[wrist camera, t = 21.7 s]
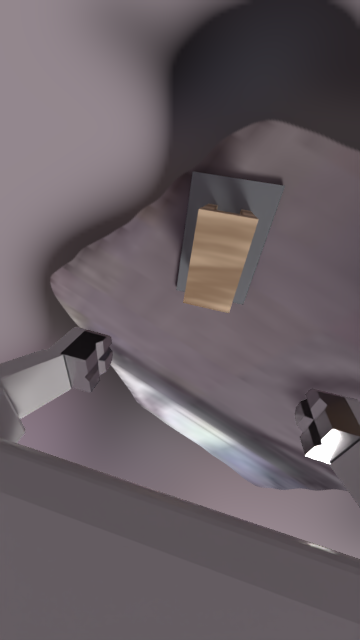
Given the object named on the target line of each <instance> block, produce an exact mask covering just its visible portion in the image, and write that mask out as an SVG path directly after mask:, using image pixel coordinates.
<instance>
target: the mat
mask: <svg viewBox="0 0 360 640" xmlns="http://www.w3.org/2000/svg"><path fill="white" fill-rule="evenodd" d="M284 187H285V186H283V185H276V184H270V183H263V182H257V181H251V180H244V179H238V178H231V177H225V176H219V175H212V174H206V173H200V172H193V173H192V180H191V187H190V194H189V202H188V209H187V216H186V224H185V231H184V238H183V245H182V253H181V260H180V267H179V274H178V282H177V289H176V290H179V291H183V292H185V289H186V283H187V277H188V271H189V265H190V259H191V253H192V247H193V241H194V235H195V229H196V223H197V217H198V211H199V208H201V207H204V206H205V205H207V204H214V205H218V207H217V210H219V211H225V212H231V213H236V214H240V212H241V209H242V210H248V211H251V212H252V213H253V214H254V215H255V216H256V217H257V218H258V219H259V220H258V223H257V226H256V230H255V233H254V236H253V239H252V242H251V245H250V248H249V252H248V255H247V258H246V261H245V264H244V267H243V270H242V274H241V277H240V280H239V283H238V286H237V289H236V292H235V296H234V299H233V303H238V304H242V305H243V303H244V301H245V298H246V295H247V292H248V289H249V286H250V284H251V281H252V278H253V275H254V272H255V269H256V266H257V264H258V261H259V258H260V255H261V252H262V249H263V247H264V244H265V241H266V238H267V235H268V232H269V230H270V227H271V224H272V221H273V218H274V215H275V213H276V210H277V207H278V204H279V201H280V198H281V196H282V193H283V190H284Z"/></svg>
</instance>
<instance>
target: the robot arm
mask: <svg viewBox="0 0 360 640" xmlns="http://www.w3.org/2000/svg"><path fill="white" fill-rule="evenodd" d="M111 344H112V339H111V337H110V336H108V335H105V334H101V333H98V332H94V331H91V330H86V329H83V328H80V327H75V328H73V329H72V330H70V331H69V332H68V333H67V334H66V335H64V336H63V337H62V338H61V339H60V340H59V341H58V342H56V343H55V344H54V345H53V346H51V347H50V349H48V350H41V351H37V352H34V353H31V354H29V355H25V356H22V357H19V358H16V359H13V360H10V361H7V362H4V363H1V364H0V640H360V559H358V558H355V557H352V556H349V555H346V554H343V553H340V552H337V551H334V550H331V549H328V548H326V547H323V546H320V545H316V544H314V543H311V542H308V541H305V540H302V539H299V538H296V537H293V536H290V535H287V534H284V533H281V532H278V531H275V530H272V529H269V528H266V527H263V526H260V525H257V524H254V523H251V522H248V521H245V520H243V519H240V518H237V517H234V516H230V515H227V514H225V513H221V512H219V511H216V510H213V509H210V508H207V507H204V506H201V505H198V504H195V503H192V502H189V501H186V500H183V499H180V498H177V497H174V496H171V495H168V494H165V493H163V492H160V491H156V490H154V489H151V488H148V487H145V486H141V485H139V484H136V483H133V482H130V481H127V480H124V479H121V478H118V477H115V476H112V475H109V474H106V473H103V472H100V471H97V470H94V469H91V468H88V467H85V466H82V465H80V464H77V463H73V462H70V461H68V460H65V459H62V458H59V457H56V456H53V455H50V454H47V453H44V452H41V451H38V450H35V449H32V448H29V447H26V446H23V445H20V444H17V442H18V441H19V440H20V439H21V438H22V436H23V435H24V434H25V428H24V426H23V424H22V422H21V420H20V419H21V418H23V417H25V416H26V415H28V414H30V413H31V412H33V411H35V410H36V409H38V408H40V407H41V406H43V405H45V404H46V403H48V402H50V401H52V400H53V399H55V398H57V397H58V396H60V395H62V394H63V393H65V392H67V391H68V390H70V389H71V388H75V389H78V390H83V391H86V392H90V393H91V392H92V390H93V389H94V388H95V386H96V385H97V384H98V382H99V381H100V374H102V373H105V372H106V371H107V369H108V368H109V366H110V364H111V361H112V356H113V352H112V350H111V349H110V347H109V346H110V345H111ZM305 395H306V398H307V399H305V400H302V401H300V402H299V403H298V405H297V406H296V410H295V421H296V425H297V426H298V428H299V429H300V430H301V431H302V434H301V436H300V440H301V443H302V447H303V451H304V454H305V456H307V457H310V458H313V459H316V460H319V461H323V462H326V463H329V464H330V466H331V468H332V469H333V471H334V472H335V473H336V475H337V476H338V478H339V479H340V480H341V482H342V483H343V485H344V486H345V487H346V489H347V490H348V492H349V493H350V494H351V496H352V497H353V498H354V500H355V501H356V503H357V504H358V506H359V507H360V402H359V401H358V400H357V399H354V398H350V397H346V396H340V395H337V394H333V393H329V392H325V391H321V390H317V389H313V388H312V389H310V390H308V392H307V393H306V394H305Z"/></svg>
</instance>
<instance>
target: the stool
mask: <svg viewBox="0 0 360 640" xmlns="http://www.w3.org/2000/svg"><path fill="white" fill-rule="evenodd" d="M217 207H218V205H214V204H207V205H205V206H204V207H201V208H199V211H198V217H197V223H196V229H195V235H194V241H193V247H192V253H191V259H190V265H189V271H188V277H187V283H186V289H185V295H184V301H183V303H187V304H191V305H195V306H200V307H204V308H209V309H213V310H217V311H222V312H226V313H229V311H230V308H231V305H232V302H233V299H234V296H235V292H236V289H237V286H238V283H239V280H240V277H241V274H242V270H243V267H244V264H245V261H246V258H247V255H248V252H249V248H250V245H251V242H252V239H253V236H254V233H255V230H256V226H257V223H258V220H259V219H258V218H257V217H256V216H255V215H254V214H253V213H252V212H251V211H248V210H242V209H241V212H240V214H236V213H231V212H225V211H219V210H217Z"/></svg>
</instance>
